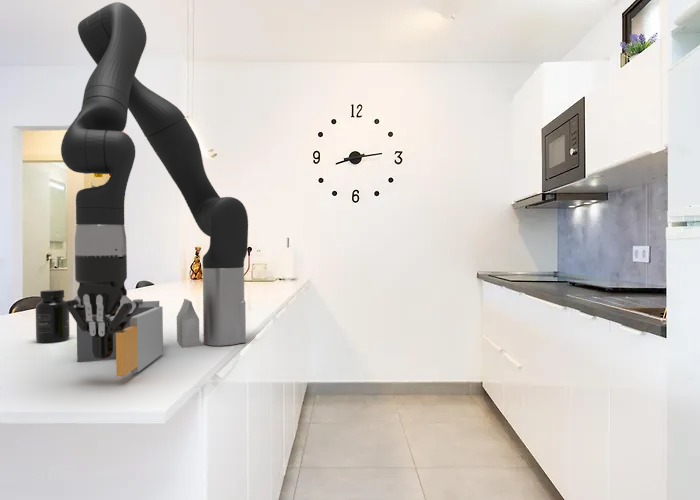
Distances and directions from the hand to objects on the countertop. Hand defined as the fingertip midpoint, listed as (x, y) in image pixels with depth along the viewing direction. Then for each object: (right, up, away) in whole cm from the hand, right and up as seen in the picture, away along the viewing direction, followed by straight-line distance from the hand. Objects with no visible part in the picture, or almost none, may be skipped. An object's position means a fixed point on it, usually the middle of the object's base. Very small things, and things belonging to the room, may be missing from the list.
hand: (103, 357), depth 78 cm
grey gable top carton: (+4, -4, +30) cm, 30 cm away
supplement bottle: (-30, -4, +35) cm, 46 cm away
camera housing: (-7, -4, +21) cm, 22 cm away
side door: (+3, -3, +8) cm, 9 cm away
